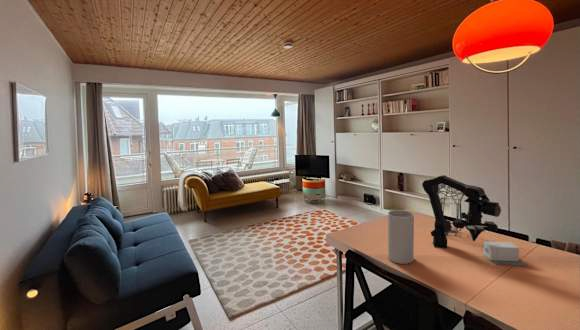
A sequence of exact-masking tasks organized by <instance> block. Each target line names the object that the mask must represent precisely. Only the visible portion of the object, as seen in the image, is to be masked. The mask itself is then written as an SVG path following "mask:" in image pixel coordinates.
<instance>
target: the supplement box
mask: <svg viewBox="0 0 580 330" xmlns="http://www.w3.org/2000/svg"><path fill="white" fill-rule="evenodd" d="M483 255H484V256H485V257H486V258H488V260H489V261H492V260H495V261H518V260H519V259H520V258H519V257H520V256H519V255H520V248H519V247H518V246H517V245H515V244H514V243H512V242H510V241H483Z"/></svg>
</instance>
